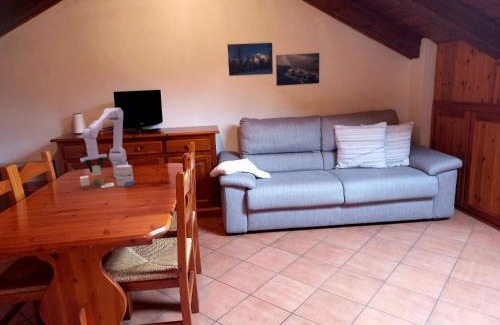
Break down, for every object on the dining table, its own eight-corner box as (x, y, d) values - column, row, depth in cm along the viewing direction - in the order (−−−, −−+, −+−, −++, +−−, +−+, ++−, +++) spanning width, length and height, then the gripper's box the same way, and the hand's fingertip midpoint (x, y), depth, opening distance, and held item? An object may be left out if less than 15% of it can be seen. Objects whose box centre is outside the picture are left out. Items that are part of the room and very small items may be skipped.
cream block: (89, 183, 211) (88, 175, 210) (89, 185, 207) (88, 177, 206) (81, 184, 210) (80, 176, 208) (81, 186, 206) (80, 178, 204)
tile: (113, 183, 209) (113, 182, 208) (114, 186, 202) (114, 185, 202) (101, 185, 206) (100, 184, 206) (101, 188, 200) (101, 187, 199)
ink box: (134, 183, 206) (132, 164, 203) (131, 186, 201) (128, 166, 198) (121, 183, 206) (118, 165, 204) (117, 186, 202) (114, 167, 199)
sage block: (98, 172, 207) (97, 164, 206) (101, 174, 204) (100, 166, 203) (90, 174, 204) (89, 166, 203) (93, 175, 201) (92, 167, 200)
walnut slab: (104, 183, 210) (103, 178, 209) (104, 185, 204) (104, 181, 203) (91, 185, 207) (91, 180, 207) (92, 188, 201) (91, 183, 200)
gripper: (102, 146, 208) (105, 167, 211) (76, 150, 198) (80, 173, 201) (106, 147, 203) (110, 169, 206) (81, 151, 193) (85, 174, 196)
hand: (95, 171), depth 203 cm, fingers closed on sage block, 4 cm apart
